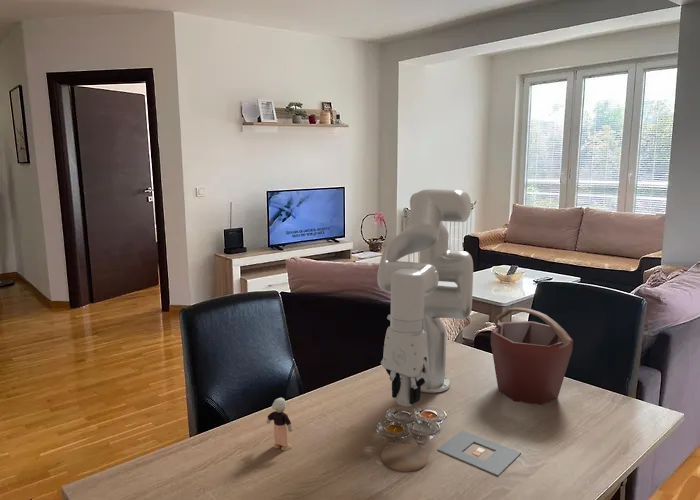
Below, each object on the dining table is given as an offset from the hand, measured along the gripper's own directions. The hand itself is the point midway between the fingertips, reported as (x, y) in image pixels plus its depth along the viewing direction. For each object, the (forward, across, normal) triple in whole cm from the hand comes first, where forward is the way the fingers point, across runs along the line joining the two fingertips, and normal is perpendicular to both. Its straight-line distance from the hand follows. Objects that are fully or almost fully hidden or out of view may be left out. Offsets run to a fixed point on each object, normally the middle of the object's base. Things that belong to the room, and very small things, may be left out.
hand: (405, 398), depth 125 cm
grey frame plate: (+15, +12, +14) cm, 24 cm away
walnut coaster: (+15, 0, 0) cm, 15 cm away
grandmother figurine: (+15, -26, -16) cm, 34 cm away
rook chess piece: (+1, 0, 0) cm, 1 cm away
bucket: (+16, +7, +54) cm, 56 cm away
